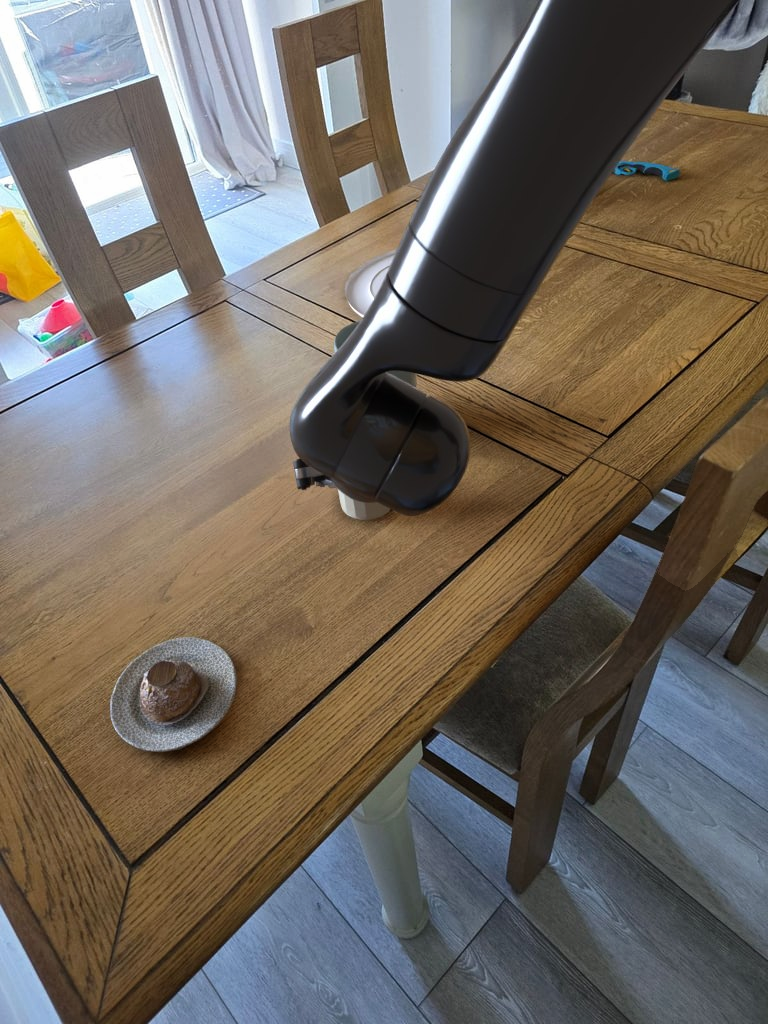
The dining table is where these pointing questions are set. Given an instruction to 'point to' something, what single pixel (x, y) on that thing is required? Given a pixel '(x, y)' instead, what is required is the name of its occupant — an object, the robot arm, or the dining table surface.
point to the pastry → (173, 694)
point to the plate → (367, 282)
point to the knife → (646, 169)
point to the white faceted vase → (361, 508)
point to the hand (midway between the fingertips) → (365, 468)
